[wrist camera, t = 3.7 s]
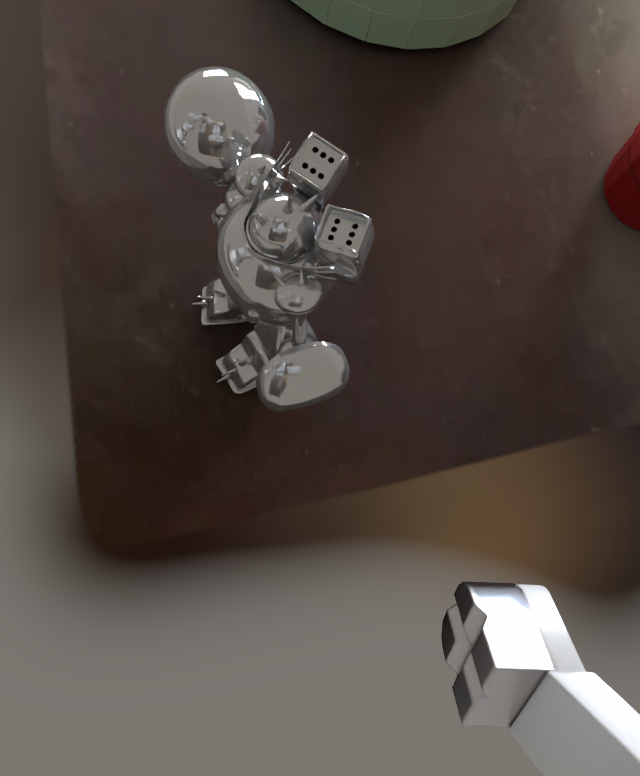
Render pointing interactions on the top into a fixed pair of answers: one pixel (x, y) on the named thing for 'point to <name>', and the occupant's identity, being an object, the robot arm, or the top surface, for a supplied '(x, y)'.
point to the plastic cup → (625, 182)
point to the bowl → (410, 19)
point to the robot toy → (268, 236)
